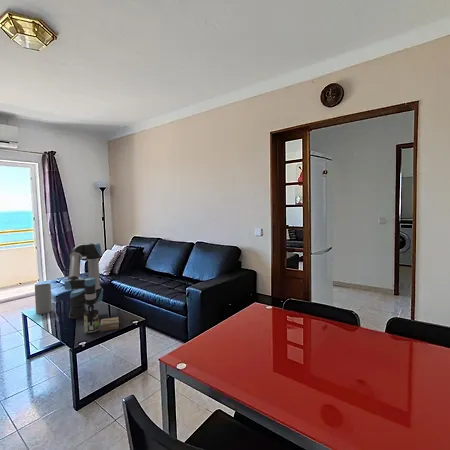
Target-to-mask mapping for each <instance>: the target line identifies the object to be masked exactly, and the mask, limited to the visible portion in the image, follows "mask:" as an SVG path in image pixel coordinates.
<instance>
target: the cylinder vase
mask: <svg viewBox="0 0 450 450" xmlns="http://www.w3.org/2000/svg"><path fill="white" fill-rule="evenodd" d="M34 299H35V301H34V302H35V303H34V304H35V313H36V314H37V315H44V314H48V313H51V312H52V311H53V309H52V308H53V305H52V285H51V284H50V283H40V284H36V285H34Z"/></svg>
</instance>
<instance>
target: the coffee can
mask: <svg viewBox="0 0 450 450" xmlns="http://www.w3.org/2000/svg"><path fill="white" fill-rule="evenodd" d="M92 315H93V330H89V322H88V321H89V312H88V310H87V311H85V312H84V317H83V322H84V324H83V325H84V332H85V333H94V332H96V331H99V330H100V323H99V319H100V318H99V310H98V309H94V310H93V314H92Z"/></svg>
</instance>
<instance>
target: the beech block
mask: <svg viewBox="0 0 450 450" xmlns="http://www.w3.org/2000/svg"><path fill="white" fill-rule="evenodd" d="M118 329H120V321H119V316H114V317H108V318H102V319H100V332H105V331H111V330H118Z"/></svg>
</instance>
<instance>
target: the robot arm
mask: <svg viewBox="0 0 450 450" xmlns="http://www.w3.org/2000/svg"><path fill="white" fill-rule="evenodd" d="M102 252H103V251H102V247H101V243H99V242H89V243H79V244H77V245H75V246H73V248H72V249H71V251H70V252H69V259H70V261H69V269H68V279H67V280H64V282H63V283H64V289H65V290H67V291H71V290H72V291H71V292H70V295H69V298H70V299H69V300H70V309H69V313H68V318H69V319H70V318H71V320H76V319H77V320H78V319H82V318H83V319H84V312H85V311H88V312H89V321H88V322H89V330H93V315H92V314H93V310H95V304H96V303H100V302H102V301H103V296H104V295H103V293H104V288H102V286H101V285H100V267H99V265H100V263H99V260H100V259H101V256H102V255H103V253H102ZM83 257H84V258H85V259H86V260H87V264H88V265H87V267H88V277H87V278H80V271H81V261H82V258H83ZM86 306H87V307H86Z"/></svg>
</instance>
